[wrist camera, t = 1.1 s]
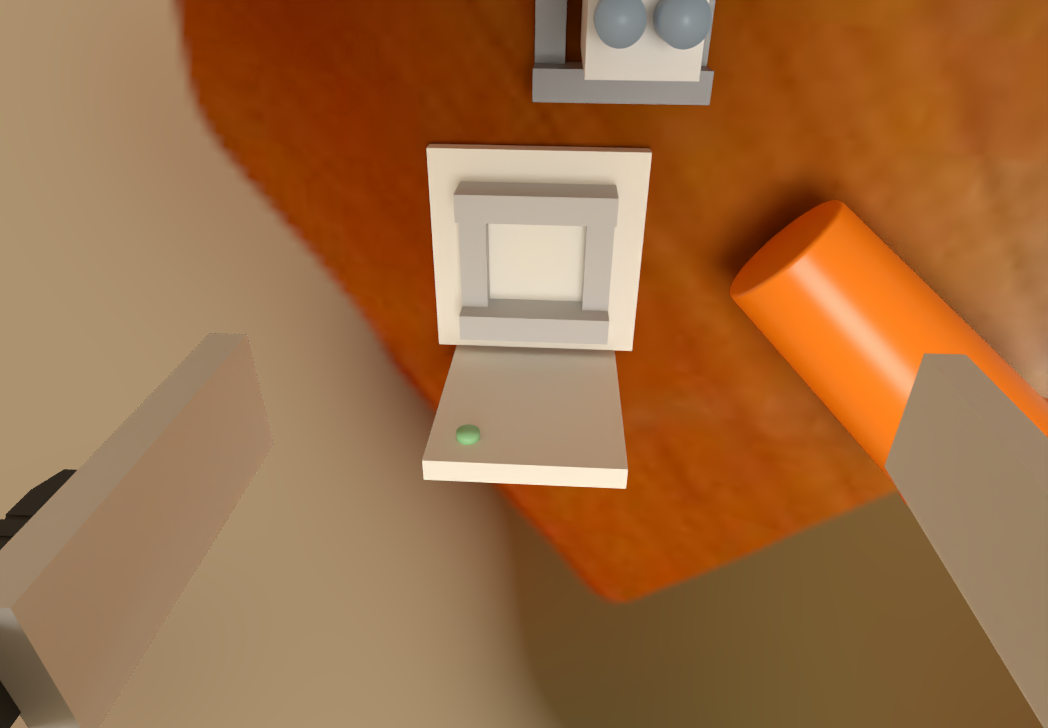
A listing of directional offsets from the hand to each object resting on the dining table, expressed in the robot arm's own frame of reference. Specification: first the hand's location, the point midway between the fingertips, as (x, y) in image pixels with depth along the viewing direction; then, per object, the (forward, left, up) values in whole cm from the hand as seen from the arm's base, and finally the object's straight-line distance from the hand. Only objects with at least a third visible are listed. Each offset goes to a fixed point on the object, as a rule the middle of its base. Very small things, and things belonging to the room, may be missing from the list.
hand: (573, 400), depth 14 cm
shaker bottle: (+5, +11, -23) cm, 26 cm away
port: (+7, -2, -26) cm, 27 cm away
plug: (-6, +2, -26) cm, 27 cm away
